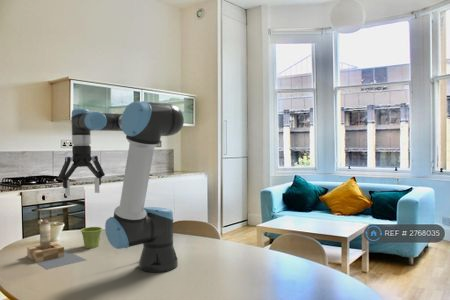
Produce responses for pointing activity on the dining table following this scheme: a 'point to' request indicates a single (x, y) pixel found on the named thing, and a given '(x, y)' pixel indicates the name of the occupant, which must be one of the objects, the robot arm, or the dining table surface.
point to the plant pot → (91, 236)
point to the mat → (60, 260)
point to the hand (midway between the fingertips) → (82, 194)
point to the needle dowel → (45, 235)
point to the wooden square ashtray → (45, 252)
